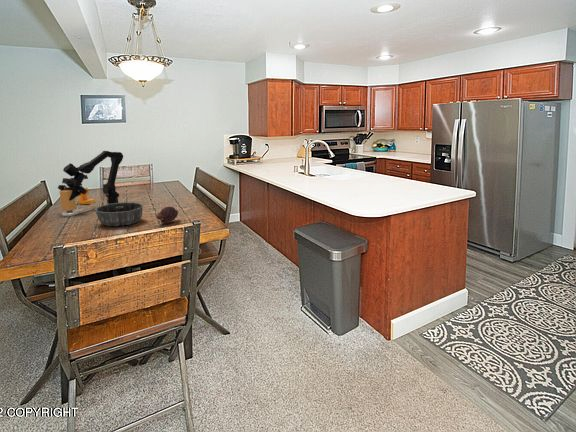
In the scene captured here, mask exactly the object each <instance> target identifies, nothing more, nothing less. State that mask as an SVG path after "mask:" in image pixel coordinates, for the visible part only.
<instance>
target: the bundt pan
mask: <svg viewBox="0 0 576 432" xmlns="http://www.w3.org/2000/svg"><path fill="white" fill-rule="evenodd" d="M143 207H144V204H142V203H139V202H130V201H129V202H118V203H114V204H107V203H106V204H104V205H101V206H98V207H96V208H95V209H94V212H95V213H96V216H97V219H98V221H99V223H101V224H102V225H104V226H108V227H119V226H122V227H124V226H129V225H134V224H136V223H138V222H139V221H140V220H141V219H142V217H143Z"/></svg>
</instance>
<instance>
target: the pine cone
mask: <svg viewBox="0 0 576 432" xmlns="http://www.w3.org/2000/svg"><path fill="white" fill-rule="evenodd" d="M178 213H179V211H178V210H177V209H176V208H175V207H174V206H165V207H163V208H162V209H161V210H160V212H158V213H157V214H156V215H155V218H156V219H157V220H159V221H160V222H161V223H162V224H166V225H167V224H168V225H169V224H170V223H172V222H173V221H175V220H176V218H178V215H179V214H178Z"/></svg>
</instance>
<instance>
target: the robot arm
mask: <svg viewBox="0 0 576 432" xmlns="http://www.w3.org/2000/svg"><path fill="white" fill-rule="evenodd" d="M107 158H110V162H111V163H110V164H111V165H110V168H109V173H108V178H107V182H106V183H105V184H104V183H103V187H102V188H101V190H102V193H103V195H105V197H106V198H107V199H106V202H107V203H106V205H107V204H114V203H119V197H120V194H119V193H118V192H117V191H116V189H117V188H116V179H117V176H118V170H119V165H120V164H121V163H122V162H123V159H124V154H123V153H122V152H119V151H109V150H102V152H101V153H99V154H97V156H95V157H94V158H92V159H91V160H90V161H88V162H87V161H86V162H85V163H83V164H80V165H79V166H77V167H76V166H75V165H74V164H73V163H68V164H67V165H66V166H64V167H63V169H62V170H63V172H64V173H65V174H66V175H68V176H69V177H70V178H68V177H64V178H62V181H61V183H62V184H58V186H57V189H58V190H59V191H63V190H72V194H71V196H70V198H69V200H70V201H71V200H72V199H74V198H75V199H76V198H77V197H79V195H81V193H82V194H86V192H87V191H86V189H85V188H86V187H84V186H83V184H82V183H83V182H84V180H88V179H89V177H88V175H89V174H91V172H93V171H94V169H95V167H97V165H99V164H100V163H102V162H103V161H104V160H105V159H107Z"/></svg>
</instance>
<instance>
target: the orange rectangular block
mask: <svg viewBox="0 0 576 432" xmlns="http://www.w3.org/2000/svg"><path fill="white" fill-rule="evenodd" d="M71 194H72V190H63V191H61V190H59V198H60V205H61V210H62V211H65V212H66V211H70V210H72V211H74V210H77V206H76V198H74V199H72V200H71V201H70V200H69V198H70V196H71Z"/></svg>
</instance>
